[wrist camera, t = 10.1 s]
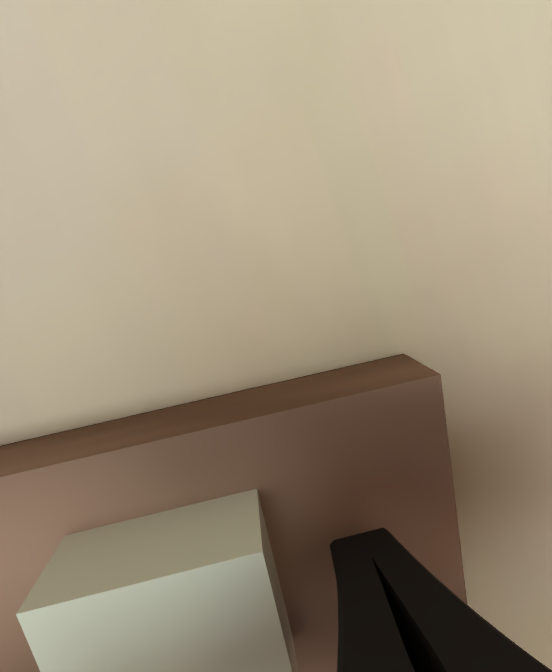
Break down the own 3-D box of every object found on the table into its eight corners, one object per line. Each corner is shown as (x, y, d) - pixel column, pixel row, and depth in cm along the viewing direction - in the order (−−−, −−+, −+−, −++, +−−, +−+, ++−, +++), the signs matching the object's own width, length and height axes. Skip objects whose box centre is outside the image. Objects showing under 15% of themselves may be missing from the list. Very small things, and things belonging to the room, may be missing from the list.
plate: (453, 721, 14) (489, 796, 12) (63, 833, 13) (33, 934, 11) (403, 353, 11) (440, 374, 9) (-105, 470, 10) (-187, 520, 8)
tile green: (293, 639, 10) (306, 731, 8) (120, 685, 10) (91, 792, 8) (256, 488, 9) (262, 551, 7) (65, 535, 9) (16, 614, 7)
